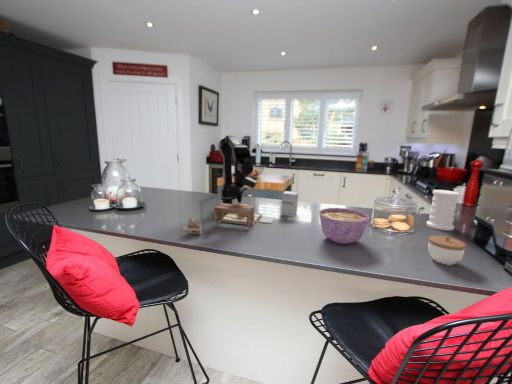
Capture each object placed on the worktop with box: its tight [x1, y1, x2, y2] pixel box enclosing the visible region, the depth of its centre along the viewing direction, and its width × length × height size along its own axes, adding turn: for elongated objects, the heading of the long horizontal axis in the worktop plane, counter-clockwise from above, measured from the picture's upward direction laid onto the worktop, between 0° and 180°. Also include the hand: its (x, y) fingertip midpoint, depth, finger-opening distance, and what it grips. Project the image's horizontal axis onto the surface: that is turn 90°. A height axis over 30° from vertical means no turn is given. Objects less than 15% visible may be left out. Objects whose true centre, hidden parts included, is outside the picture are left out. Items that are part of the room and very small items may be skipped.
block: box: [239, 203, 249, 217], centre depth 137 cm, size 4×4×7 cm
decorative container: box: [426, 189, 460, 231], centre depth 131 cm, size 12×12×18 cm
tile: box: [258, 215, 276, 225], centre depth 134 cm, size 9×6×1 cm
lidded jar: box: [427, 235, 467, 266], centre depth 93 cm, size 11×11×9 cm
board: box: [220, 212, 263, 226], centre depth 136 cm, size 16×17×2 cm
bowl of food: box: [318, 207, 370, 245], centre depth 110 cm, size 20×20×12 cm
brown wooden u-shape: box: [213, 202, 256, 228], centre depth 124 cm, size 9×17×7 cm, turn 74°
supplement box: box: [280, 190, 299, 217], centre depth 145 cm, size 7×7×13 cm
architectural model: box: [182, 217, 202, 236], centre depth 112 cm, size 3×7×7 cm, turn 84°
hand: (239, 202), depth 130 cm, fingers closed
